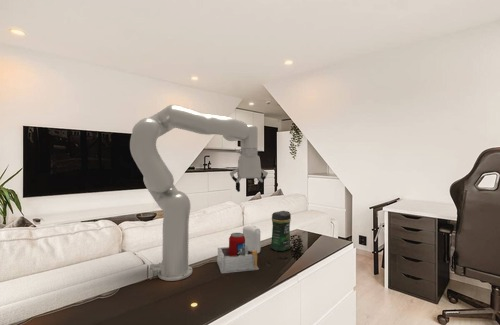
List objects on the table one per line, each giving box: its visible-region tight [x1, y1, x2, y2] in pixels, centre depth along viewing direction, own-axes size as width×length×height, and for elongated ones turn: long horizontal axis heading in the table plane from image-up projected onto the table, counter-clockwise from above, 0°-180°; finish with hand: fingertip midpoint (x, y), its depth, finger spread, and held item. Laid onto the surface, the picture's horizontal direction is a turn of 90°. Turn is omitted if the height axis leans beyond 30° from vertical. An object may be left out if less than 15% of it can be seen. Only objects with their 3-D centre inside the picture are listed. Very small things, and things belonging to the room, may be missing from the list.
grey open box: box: [216, 246, 260, 274], centre depth 107 cm, size 15×14×7 cm
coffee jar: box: [270, 210, 292, 252], centre depth 127 cm, size 10×8×19 cm
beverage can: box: [228, 232, 245, 256], centre depth 107 cm, size 7×7×12 cm
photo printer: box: [242, 224, 261, 254], centre depth 125 cm, size 10×4×12 cm, turn 39°
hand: (248, 191), depth 115 cm, fingers open, 9 cm apart
